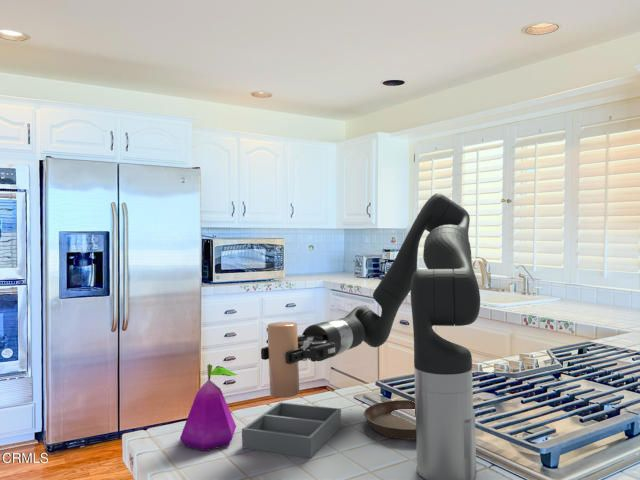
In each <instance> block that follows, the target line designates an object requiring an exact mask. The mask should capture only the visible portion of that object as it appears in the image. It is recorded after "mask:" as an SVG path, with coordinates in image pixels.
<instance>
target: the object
mask: <svg viewBox="0 0 640 480" xmlns="http://www.w3.org/2000/svg"><path fill="white" fill-rule="evenodd" d="M398 409H415V403H414V402H412V401H410V399H400V400H399V399H398V400H397V399H396V400H387V401H382V402H378V403H375V404H373V405H370V406H369V407H367V408H366V409H365V410H364V412H363V415H364V418H365V420H366V421H367V423H368V424H369V425H370V426H371V427H372V428H373V429H374V430H375V431H376V432H377V433H379V434H381V435H383V436H386V437H389V438H394V439H400V440H416V425H414V424H412V423H410V422H409V421H406V420H405V419H402V418H399V417H397V416H394V415H392V414H391V412H392V411H394V410H398Z"/></svg>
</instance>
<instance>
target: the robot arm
mask: <svg viewBox="0 0 640 480" xmlns="http://www.w3.org/2000/svg"><path fill="white" fill-rule="evenodd" d="M469 228H470V214H469V212H468V211H467V210H466V209H465V208H464V207H463V206H461V205H459V204H458V203H457V202H455V201H453V200H452V199H450V198H449V197H448V196H446V195H444V194H443V193H441V192H437V193H435V194H433V195H431V196H430V198H428V199H427V200H426V201H425V203H424V204H423V206H422V207H421V209H420V211H419V212H418V214H417V216H416V218H415V220H414V221H413V223H412V225H411V227H410V229H409V231H408V232H407V234H406V236H405V238H404V241H403V242H402V244H401V247H399V250H398V252H397V255H396V256H395V258H394V260H393V262H392V264H391V265H390V267H389V268H388V270H387V272H386V273H385V275H383V277H382V279H381V281H380V282H378V285H377V286H376V288H375V290H374V291H373V293H372V298H373V300H375V301H376V303H377V304H378V305H379V306H380V308H381V314H380V315H379V314H377V313H376V312H374V311H373V310H372V309H370V308H369V307H367V306H363V305H359V306H356V307H354V308H353V309H352V310H351V312H348V314H346V315H345V316H344V317H342V318H338V319H329V320H326V321H323V322H319V323H316V324H315V323H314V324H312V325H309V326H307V327H306V328H305V329H304V331H303V332H302V334H300V335H298V348H297V349H294V350H291V351H288V352H286V354H285V356H286V363H287V364H292V363H295V362H298V363H299V362H300V361H303V362H307V361H310V362H322V361H326V360H328V359H330V358H333V357H335V356H338V355H340V354H342V353H344V352H346V351H348V350H351V349H353V348H357V347H358V346H360V345H361V344H362V343H363V342H364V343H365V344H367V345H368V346H369V347H371V348H377V347H382V345H384V344H385V343H386V342H387V340H388V338H389V336H390V334H391V330H392V328H393V324H394V322H395V319H396V317H397V313H398V311H399V309H400V307H401V305H402V304H403V302H404V301H405V300H406V298H407V296H408V295H409V293H410V305H411V306H410V308H411V316H412V328H413V329H412V330H413V366H414V367H413V368H414V401H415V417H416V439H415V447H416V448H415V449H416V451H415V452H416V453H415V454H416V456H415V459H416V461H415V462H416V471H417V473H418V475H419V476H420V477H421V478H422V479H424V480H475V475H476V471H477V452H476V451H477V446H476V445H477V444H476V412H475V410H474V395H473V394H474V392H473V391H474V390H473V385H474V384H473V358H472V353H471V351H470V350H469V349H468V348H467V347H465V346H463V345H460V344H458V343H455V342H451V341H450V340H447V339H446V338H443V336H440V335H439V334H437V332H436V331H435V330H434V329H433V327H435V326H436V327H437V326H439V327H440V326H441V327H463V326H469V325H471V324H473V323H474V322H476V320H477V318H478V317H479V314H480V310H481V309H480V308H481V293H480V287H479V282H478V280H477V276H476V274H475V270H474V267H473V262H472V249H471V243H470V240H469V237H470V236H469ZM425 231H427V232H428V233H427V236H426V238H425V240H424V244H423V252H422V253H423V256H422V258H423V259H422V260H423V262H424V264H425V267H426V268H425V269H424V268H423V269H418V254H419V253H418V252H419V246H420V242H421V239H422V236H423V234H424V232H425ZM260 358H261V359H262V360H263V361H266V360H269V351H268V345H267V346H264V347H261V349H260Z"/></svg>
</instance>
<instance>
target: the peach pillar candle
mask: <svg viewBox="0 0 640 480" xmlns="http://www.w3.org/2000/svg"><path fill="white" fill-rule="evenodd" d="M298 336H299V335H298V323H297V322H293V321H280V322H279V321H278V322H272V323H269V324H267V341H268V342H267V344H268V345H267V346H268V351H269V359H268V375H269V377H268V378H269V395H270V396H271V397H274V398H281V399H283V398H291V397H295V396H297V395H299V394H300V392H301V391H300V371H299V370H300V369H299V367H300V366H299V361H298V362H295V363H292V364H287V363H286V356H285V354H286V352H288V351H291V350H294V349H297V348H298Z"/></svg>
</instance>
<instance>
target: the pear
mask: <svg viewBox="0 0 640 480" xmlns="http://www.w3.org/2000/svg"><path fill="white" fill-rule="evenodd" d="M206 367H207V381H206V382H205V383H204V384H203V385H201V387H200V388H199V389H198V391H197V392H196V394H195V398H194V400H193V403H192V405H191V407H190V411H189V413H188V415H187V419H186V421H185V422H184V423H185V424H184V426H183V429H182V431H181V434H180V436H179V437H180V438H179V439H180V442H182V444H183V445H184V447H188V448H192V449H195V450H198V451H199V450H200V451H203V452H204V451H209V450H214V449H218V448H221V447H227V446H229V445H230V444H231V441H232V440H233V438H234V434H235V431H236V428H237V425H236V422H235V420H234V417H233V415H232V413H231V411H230V408H229V406H228V404H227V401H226V399H225V397H224V394H223V391H222V390H221V388H220V387H219V386H218V385H217V384H215V383H214V382H213V381H211V377H212V376H225V377H231V376H238V374H237V373H235V372H233V371H231V370H229V369H227V368H225V367H223V366H220V365H217V366H216V367H214V369H213V365H212V364H210V363H209V364H207V365H206Z"/></svg>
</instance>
